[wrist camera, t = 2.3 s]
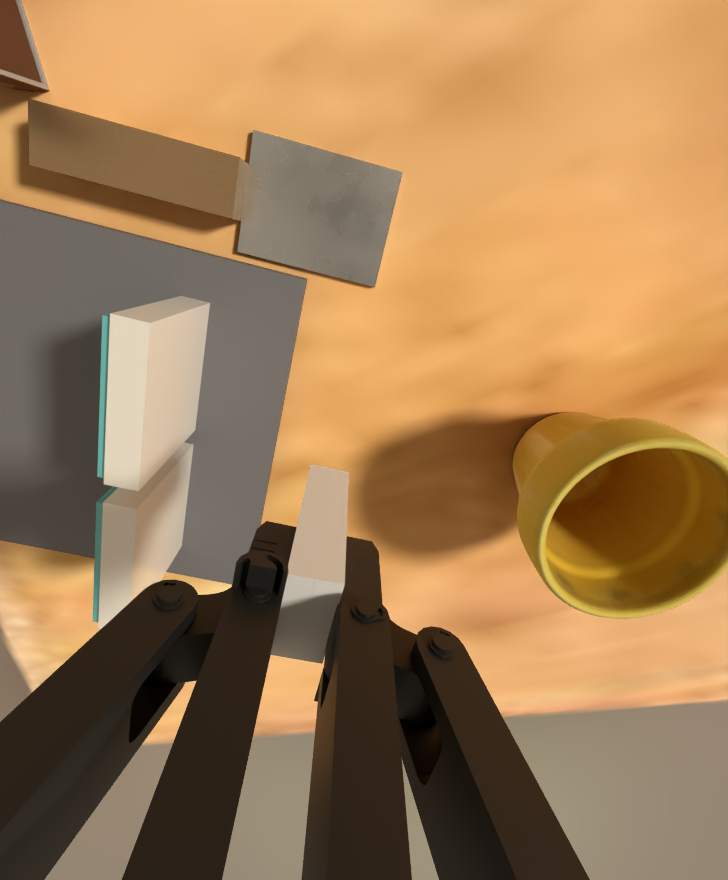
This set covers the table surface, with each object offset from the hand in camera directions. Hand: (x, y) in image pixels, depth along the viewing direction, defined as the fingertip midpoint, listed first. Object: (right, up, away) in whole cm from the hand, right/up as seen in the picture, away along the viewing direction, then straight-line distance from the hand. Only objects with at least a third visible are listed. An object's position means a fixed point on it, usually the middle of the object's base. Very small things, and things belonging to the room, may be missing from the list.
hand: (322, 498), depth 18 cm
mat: (-13, +4, +12) cm, 18 cm away
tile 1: (-9, +7, +10) cm, 15 cm away
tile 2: (-11, -1, +13) cm, 17 cm away
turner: (-6, +16, +7) cm, 19 cm away
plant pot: (+15, +1, +14) cm, 20 cm away
